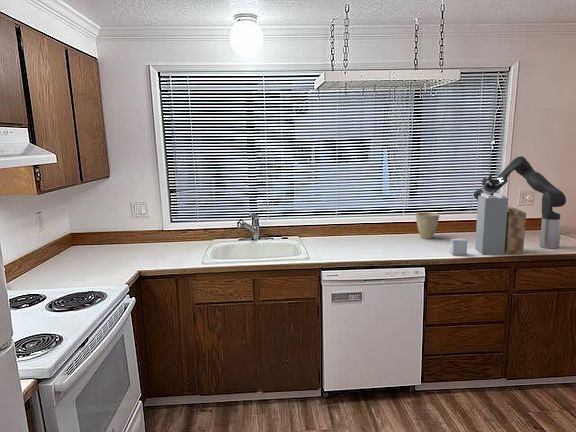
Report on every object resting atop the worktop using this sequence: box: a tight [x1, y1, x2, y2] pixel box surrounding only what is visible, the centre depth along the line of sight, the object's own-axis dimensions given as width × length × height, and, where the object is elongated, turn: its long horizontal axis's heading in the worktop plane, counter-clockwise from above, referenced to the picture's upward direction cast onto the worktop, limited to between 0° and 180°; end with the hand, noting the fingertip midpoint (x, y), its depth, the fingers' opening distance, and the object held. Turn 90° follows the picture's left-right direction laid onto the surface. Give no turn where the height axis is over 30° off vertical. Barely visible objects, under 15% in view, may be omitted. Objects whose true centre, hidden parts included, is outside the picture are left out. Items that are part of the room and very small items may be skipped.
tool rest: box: [504, 211, 527, 255], centre depth 247 cm, size 9×12×24 cm
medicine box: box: [449, 238, 468, 256], centre depth 245 cm, size 8×4×9 cm, turn 90°
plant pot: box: [415, 211, 440, 240], centre depth 285 cm, size 15×15×16 cm
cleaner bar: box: [507, 205, 525, 218], centre depth 245 cm, size 4×26×4 cm, turn 174°
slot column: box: [474, 192, 509, 256], centre depth 246 cm, size 12×12×34 cm
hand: (498, 176), depth 266 cm, fingers open, 8 cm apart
